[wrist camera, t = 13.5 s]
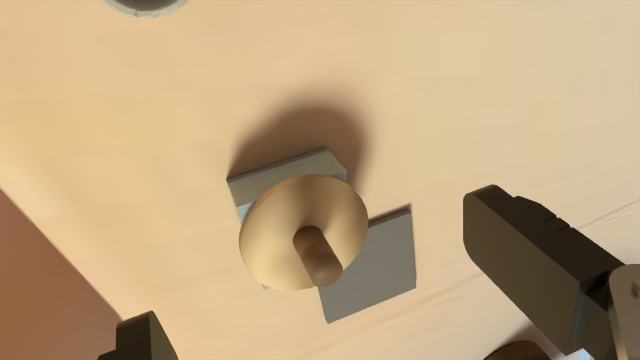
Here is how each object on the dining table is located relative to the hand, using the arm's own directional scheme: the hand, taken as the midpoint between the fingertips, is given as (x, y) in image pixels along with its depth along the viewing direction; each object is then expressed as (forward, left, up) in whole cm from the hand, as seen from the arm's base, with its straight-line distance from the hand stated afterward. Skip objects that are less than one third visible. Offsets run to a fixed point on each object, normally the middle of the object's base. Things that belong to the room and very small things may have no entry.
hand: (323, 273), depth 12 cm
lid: (-4, +19, -25) cm, 32 cm away
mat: (-11, +31, -30) cm, 45 cm away
